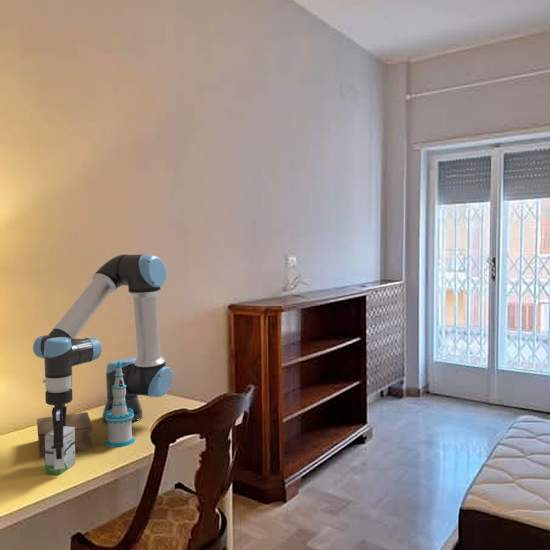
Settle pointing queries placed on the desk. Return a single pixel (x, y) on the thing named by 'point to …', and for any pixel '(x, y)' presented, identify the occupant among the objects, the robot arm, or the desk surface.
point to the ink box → (68, 450)
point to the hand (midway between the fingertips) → (60, 461)
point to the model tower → (119, 415)
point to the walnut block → (72, 420)
